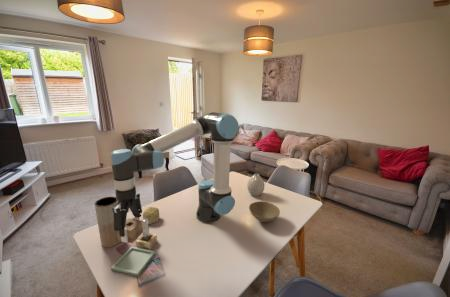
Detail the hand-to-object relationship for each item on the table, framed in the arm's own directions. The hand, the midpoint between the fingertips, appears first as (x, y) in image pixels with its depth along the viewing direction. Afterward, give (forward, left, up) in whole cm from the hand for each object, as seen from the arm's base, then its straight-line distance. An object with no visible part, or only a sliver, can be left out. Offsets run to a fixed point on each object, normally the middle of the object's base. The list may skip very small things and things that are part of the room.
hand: (131, 235), depth 88 cm
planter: (+20, -9, -14) cm, 26 cm away
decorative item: (+11, -30, -14) cm, 35 cm away
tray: (0, 0, -14) cm, 14 cm away
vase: (-47, -79, -14) cm, 93 cm away
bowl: (-55, -47, -14) cm, 74 cm away
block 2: (+1, -11, -14) cm, 18 cm away
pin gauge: (+1, -11, -14) cm, 18 cm away
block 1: (0, 0, 0) cm, 0 cm away
